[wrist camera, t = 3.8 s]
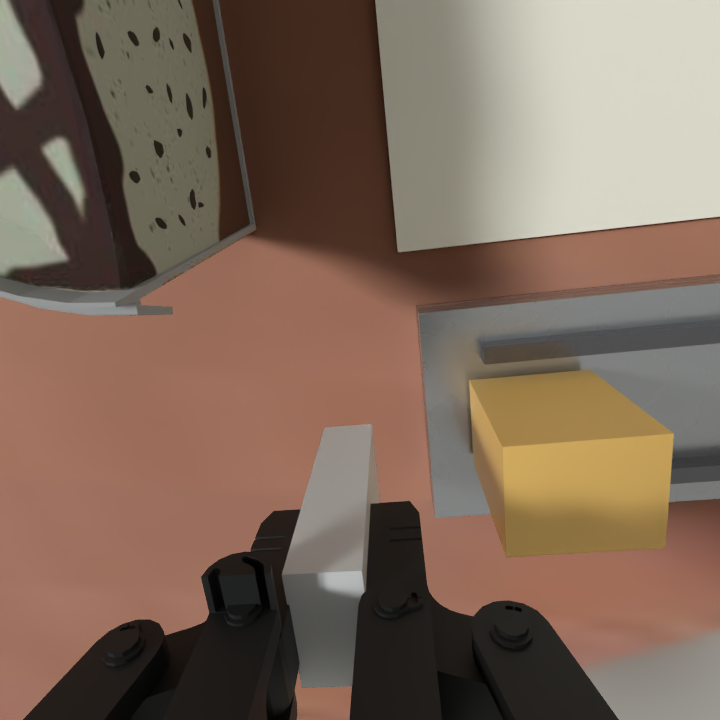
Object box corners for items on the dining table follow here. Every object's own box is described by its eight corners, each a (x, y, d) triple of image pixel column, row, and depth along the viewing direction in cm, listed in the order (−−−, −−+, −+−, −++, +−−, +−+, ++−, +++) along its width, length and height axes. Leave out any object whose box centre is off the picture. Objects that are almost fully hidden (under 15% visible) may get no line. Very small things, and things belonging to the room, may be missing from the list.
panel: (416, 305, 18) (420, 317, 16) (854, 260, 17) (921, 267, 15) (431, 496, 20) (437, 529, 18) (819, 468, 19) (873, 500, 17)
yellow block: (469, 380, 17) (502, 446, 12) (589, 369, 16) (673, 433, 12) (473, 463, 18) (506, 557, 13) (588, 455, 17) (665, 547, 12)
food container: (1, -112, 15) (-680, -685, 5) (194, -147, 14) (-177, -846, 5) (104, 288, 18) (-201, 369, 9) (263, 271, 18) (123, 337, 8)
